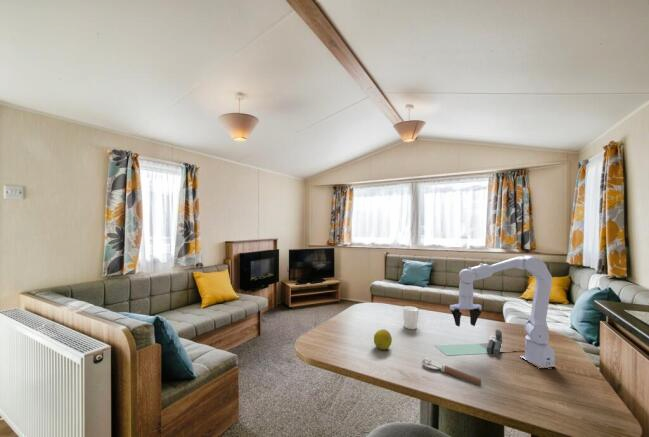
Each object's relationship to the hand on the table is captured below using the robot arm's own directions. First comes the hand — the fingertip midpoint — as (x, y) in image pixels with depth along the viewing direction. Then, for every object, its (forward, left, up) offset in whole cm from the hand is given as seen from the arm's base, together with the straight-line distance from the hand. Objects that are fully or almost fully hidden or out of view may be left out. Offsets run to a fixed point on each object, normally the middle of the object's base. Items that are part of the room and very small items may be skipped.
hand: (465, 325), depth 124 cm
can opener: (-1, -14, -10) cm, 18 cm away
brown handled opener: (-18, +19, -11) cm, 29 cm away
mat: (-1, -7, -10) cm, 13 cm away
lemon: (+4, +38, -11) cm, 39 cm away
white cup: (+26, +14, -11) cm, 31 cm away
